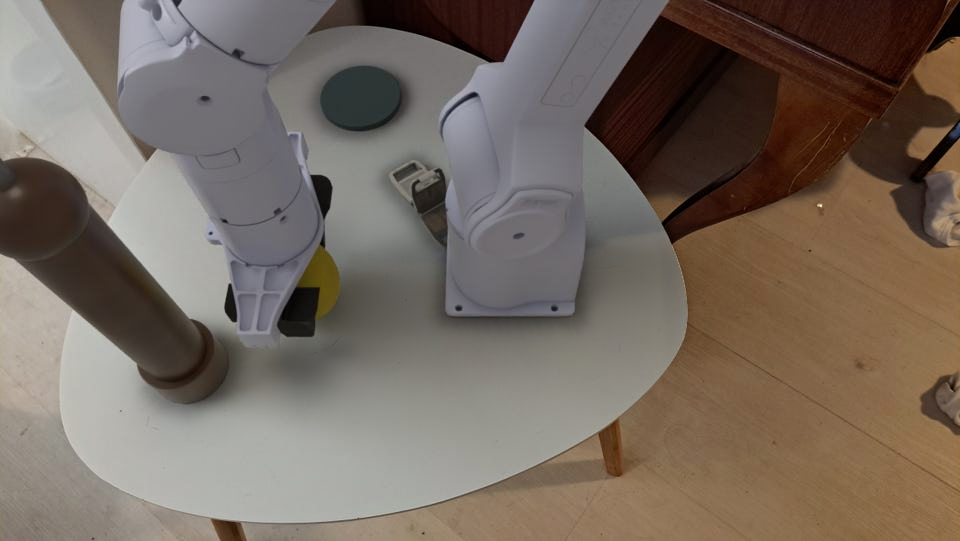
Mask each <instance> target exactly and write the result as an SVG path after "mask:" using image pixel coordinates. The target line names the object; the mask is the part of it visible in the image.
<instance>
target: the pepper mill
mask: <svg viewBox="0 0 960 541" xmlns="http://www.w3.org/2000/svg"><path fill="white" fill-rule="evenodd" d="M79 181H80V180H78V179H77V178H76V176H74V175H73V174H72V173H71V172H70V171H69V170H67V169H66V168H64V167H63V166H61V165H60V164H57V163H55V162H53V161H51V160H47V159H44V158H39V157H29V156H23V157H21V156H20V157H15V158H8V159H5V160H3V159H2V157H0V255H1V256H3V257H7V258H9V259H13V260H14V261H15V262H16V263H18V264H19V265H20V266H21V267H22V268H24V269H25V270H26V271H27V272H28V273H30V274H31V275H32V276H33V277H34V278H35V279H36V280H38V281H39V282H40V283H41V284H42V285H44V286H45V287H46V288H47V289H48V290H49V291H50V292H52V293H53V294H54V295H56V297H57V298H59V299H60V300H61V301H63V302H64V303H65V304H66V305H67V306H68V307H70V309H72V311H74V312H75V313H77V315H79V317H81V318H83V320H85V321H86V322H87V323H88V324H90V326H92V327H93V328H94V329H95V330H97V332H99V334H101V335H102V336H103V337H105V338H106V339H107V340H108V341H109V342H110V343H112V344H113V345H114V346H115V347H116V348H118V349H119V350H120V351H121V352H122V353H124V354H125V355H126V356H127V357H128V358H129V359H131V361H133V362H134V363H135V364H136V367H137V371H138V374H139V375H140V377H141V379H142V380H143V381H144V382H145V383H146V384H147V385H149V386H150V387H151V388H152V389H153V390H155V391H156V392H157V393H159V394H160V395H161V396H162V397H163V398H165V399H166V400H168V401H170V402H173V403H176V404H192V403H196V402H200V401H201V400H204V399H206V398H207V397H209V396H211V394H213V393H214V392H215V391H216V390H217V389H218V388H219V387H220V386H221V384H222V383H223V381H224V379H225V377H226V375H227V371H228V367H229V359H228V358H229V357H228V353H227V351H226V349H225V347H224V346H223V345H222V343H221V341H219V339H218V338H217V337H216V336H215V335H214V334H213V332H212V331H211V330H210V329H209V327H208V326H206V325H205V324H204V323H202V322H201V321H199V320H197V319H193V318H190V317H189V316H188V315H187V314H186V312H184V311H183V309H182V308H181V307H180V306H179V304H177V302H176V301H175V300H174V299H173V298H172V297H171V296H170V294H168V292H167V291H166V289H164V287H163V286H162V285H161V284H160V283H159V282H158V281H157V279H155V277H154V276H153V275H152V274H151V273H150V271H149V270H148V269H147V268H146V267H145V266H144V265H143V263H142V262H141V261H140V260H139V259H138V257H136V255H135V254H134V253H133V252H132V251H131V250H130V249H129V247H128V246H127V245H126V244H125V243H124V241H123V240H122V239H121V238H120V237H119V236H118V235H117V233H116V232H114V230H113V229H112V228H111V227H110V226H109V224H108V223H107V222H106V221H105V220H104V219H103V218H102V216H101V215H100V214H99V213H98V212H97V210H95V208H94V207H93V206H92V205H91V204H90V202H89V198H88V195H87V193H86V191H85V189H84V187H83V186H82V184H81V183H80V182H79Z"/></svg>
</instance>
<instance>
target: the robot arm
mask: <svg viewBox="0 0 960 541" xmlns="http://www.w3.org/2000/svg"><path fill="white" fill-rule="evenodd" d="M336 2H338V0H123V2H122V5H121V8H120V9H121V10H120V17H119V18H120V19H119V40H118V59H117V60H118V62H117V63H118V65H117V86H116V97H117V102H118V113H119V116H120V119H121V120H122V123H123V124H124V126H125V127H126V128H127V130H128V131H129V132H130V133H131V134H132V135H134V136H135V137H136V138H137V139H138V140H140V141H141V142H143V143H145V144H146V145H148V146H150V147H153V148H155V149H156V150H157V149H158V150H160V151H162V152H167V153H168V154H169V156H170V157H171V159H172V161H173V162H174V164H175V166H176V167H177V169H178V170H179V172H180V173H181V175H182V177H183V178H184V180H185V182H186V183H187V184H188V186H189V188H190V190H191V191H192V193H193V194H194V196H195V198H196V199H197V200H198V202H199V204H200V205H201V207H202V208H203V210H204V211H205V213H206V214H207V216H208V217H207V220H206V225H205V229H204V230H205V231H204V237H205V239H206V240H207V242H208V243H209V244H210V245H214V246H222V247H223V252H224V256H225V261H226V266H227V270H228V275H229V279H230V283H228V284H227V290H226V295H225V300H224V305H223V309H224V313H225V315H226V316H227V317H228V319H229V320H230V322H232V323H236V327H235V335H236V336H237V338H238V339H239V340H240V342H241V343H242V344H243V346H244V347H245V348H279V347H280V344H281V343H280V342H281V337H282V335H283V336H285V338H313V337H314V336H315V334H316V333H315V332H316V327H317V326H316V325H317V324H316V323H317V320H315V316H316V313H317V309H318V301H319V293H320V287H296V286H297V284H298V282H299V280H300V278H301V277H302V275H303V273H304V271H305V269H306V267H307V266H308V264H309V262H310V260H311V258H312V257H313V255H314V253H315V251H316V249H317V248H318V246H319V244H320V245H321V246H322V247H323V248H324V249H325V250H326V223H325V222H326V217H327V215H328V213H329V211H330V210H331V206H332V197H333V191H334V190H333V189H334V188H333V184H332V181H331V180H330V179H329V178H328V176H326V175H323V174H311V173H310V170H309V166H308V163H307V161H308V158H309V151H310V150H309V147H308V143H307V141H306V138H305V135H304V132H303V131H287V129H286V126H285V124H284V121H283V119H282V117H281V114H280V113H281V112H280V111H279V109H278V107H277V105H276V103H275V102H274V101H273V100H272V98H271V97H272V96H270V93H269V92H270V91H269V90H268V87H267V86H269V85H270V76H271V75H272V74H273V73H274V72H275V71H276V70H277V69H278V68H279V67H280V66H281V65H282V63H283V62H284V61H286V59H288V57H289V55H290V54H291V53H292V52H293V51H294V50H295V49H296V48H297V47H298V45H299V44H300V43H301V42H302V41H303V40H304V39H305V37H306V36H307V35H308V34H309V33H310V32H311V30H312V29H313V28H314V27H315V26H316V25H317V24H318V23H319V21H320V20H321V19H322V18H323V17H324V16H325V14H327V12H328V11H329V10H330V9H331V8H332V7H333V5H334V4H335V3H336ZM669 2H670V0H534V1H533V3H532V5H531V6H530V9H529V10H528V13H527V15H526V17H525V18H524V20H523V23H522V25H521V26H520V29H519V30H518V33H517V35H516V37H515V38H514V40H513V43H512V44H511V47H510V49H509V50H508V52H507V54H506V57H505V58H504V61H499V62H497V61H496V62H489V63H482V64H479V65H477V67H476V69H475V71H474V73H473V75H472V77H471V79H470V81H469V82H468V83H467V85H466V86H465V87H464V88H463V89H462V90H461V91H460V92H458V93H457V94H456V95H454V96H453V97H452V98H450V99H449V100H448V102H447V103H446V104H445V105H444V107H443V108H442V110H441V112H440V114H439V116H438V121H437V128H438V134H439V135H440V138H441V140H442V142H443V144H444V147H445V148H444V149H445V151H446V156H447V162H448V164H449V169H450V173H451V178H450V181H449V183H448V185H447V188H446V190H447V192H446V199H445V204H446V214H447V224H448V233H447V239H446V240H447V241H446V243H447V248H446V274H445V301H444V302H445V304H444V310H445V313H446V315H447V316H449V317H571V316H573V315H574V314H575V311H576V296H577V293H578V289H579V284H580V279H581V275H582V271H583V266H584V260H585V251H586V248H585V247H586V235H587V234H586V227H587V226H586V203H585V197H584V191H583V187H582V186H583V167H584V166H583V165H584V133H585V126H586V124H587V122H588V120H589V119H590V117H591V116H592V115H593V113H594V111H595V110H596V109H597V107H598V106H599V104H600V103H601V101H602V100H603V99H604V97H605V96H606V94H607V93H608V91H609V89H610V88H611V86H612V85H613V83H614V82H615V81H616V80H617V78H618V77H619V75H620V74H621V73H622V70H623V69H624V68H625V67H626V65H627V64H628V62H629V61H630V59H631V57H632V56H633V54H634V53H635V51H636V50H637V49H638V47H639V46H640V44H641V43H642V42H643V40H644V38H645V37H646V35H647V34H648V32H649V31H650V29H651V28H652V27H653V25H654V23H655V22H656V21H657V19H658V18H659V17H660V15H661V13H662V12H663V10H665V8H666V7H667V4H668V3H669ZM457 308H461V310H457ZM553 308H556V309H557V310H552V309H553Z"/></svg>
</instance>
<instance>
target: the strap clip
mask: <svg viewBox="0 0 960 541" xmlns="http://www.w3.org/2000/svg"><path fill="white" fill-rule="evenodd" d="M412 169H416V171H415V172H413V173H412V174H410V175H408V176H406V177H404V178H403V179H401V180H399V181H397V178H398V177H400V176H401V175H403V174H406V172H409V171H411V170H412ZM435 176H437V177H436V178H434V177H435ZM388 178H389V182H390V184H391V186H392V187H393V189H394V191H395V192H396V193H397V194H398V195H399V197H401V198H402V200H403V201H404V202H405V203H406V204H407V205H408V206H409V207H410V208H414V209H415V211H416V212H417V214H418V215H421V216H420V220H421V223H422V224H423V226H424V227H425V228H426V230H427V231H428V233H429V234H430V236H431V237H432V238H433V240H434V242H436V243H437V244H438V245H439V246H440V247H442V248H444V249H447V242H445V241H444V240H443V239H442V238H441V237H442V236H444V235H446V234H448V224H447V214H446V204H445V199H446V192H447V182H446V176H445V174H444V171H443V169H442V168H441V167H439V166H436V167H434V168H432V169H430V170H428V169H427V167H426V166H425V165H424V164H423V163H421V162H420V161H418V160H417V159H412V160H409V161H408V162H406V163H404V164H403V165H401V166H399V167H397V168H396V169H395V168H394V169H393V170H391V171H390V172H389V174H388Z"/></svg>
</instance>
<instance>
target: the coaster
mask: <svg viewBox="0 0 960 541" xmlns="http://www.w3.org/2000/svg"><path fill="white" fill-rule="evenodd" d="M401 91H402V90H401V87H400V84H399V82H398V81H397V79H396V78H395V77H394V76H393V75H392V74H391V73H390V72H388V71H387V70H385V69H382V68H380V67H377V66H373V65H356V66H355V65H354V66H349V67H347V68H344V69H342V70H340V71H338V72H337V73H334V74H333V75H332V76H331V77H329V79H328V80H327V81H326V82H325V83H324V85H323V87H322V89H321V92H320V95H319V101H320V107H321V110H322V113H323V115H324V116H325V118H326V120H328V121H329V122H330V123H331V124H333V125H334V126H336V127H338V128H340V129H343V130H347V131H353V132H354V131H355V132H360V131H361V132H362V131H363V132H364V131H370V130H373V129H375V128H376V129H377V128H378V127H381V126H382V125H385V124H386V123H387V122H389V121H390V120H391V119H392V118H393V117H394V116H395V115H396V113H398V110H399V108H400V106H401V102H402V92H401Z"/></svg>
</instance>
